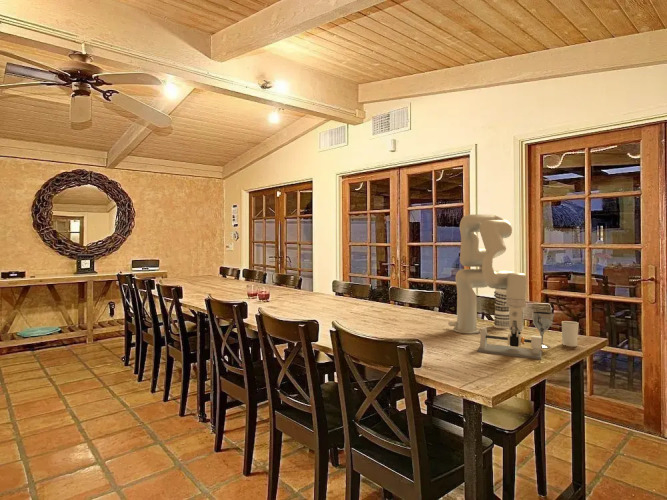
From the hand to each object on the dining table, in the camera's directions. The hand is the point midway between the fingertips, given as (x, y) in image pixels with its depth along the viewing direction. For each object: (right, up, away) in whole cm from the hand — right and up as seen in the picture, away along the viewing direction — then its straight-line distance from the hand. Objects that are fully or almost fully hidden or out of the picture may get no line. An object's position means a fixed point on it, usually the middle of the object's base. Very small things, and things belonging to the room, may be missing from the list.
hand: (515, 343), depth 181 cm
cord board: (-2, -4, +1) cm, 4 cm away
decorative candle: (+15, -2, +51) cm, 53 cm away
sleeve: (0, 0, 0) cm, 0 cm away
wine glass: (+16, -4, +11) cm, 20 cm away
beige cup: (+30, -4, +14) cm, 33 cm away
